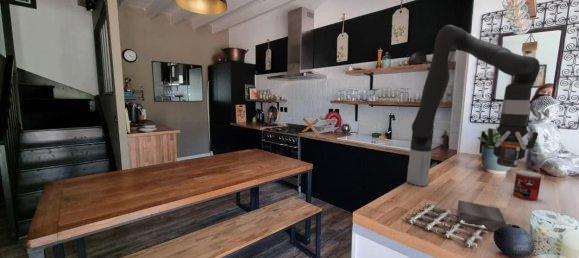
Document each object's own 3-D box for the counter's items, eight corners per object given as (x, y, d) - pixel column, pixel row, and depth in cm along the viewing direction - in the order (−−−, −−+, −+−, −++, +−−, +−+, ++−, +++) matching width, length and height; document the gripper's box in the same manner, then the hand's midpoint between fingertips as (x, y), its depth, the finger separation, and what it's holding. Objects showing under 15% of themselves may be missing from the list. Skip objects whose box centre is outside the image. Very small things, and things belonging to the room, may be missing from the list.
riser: (458, 223, 85) (460, 212, 84) (457, 210, 95) (458, 200, 94) (504, 234, 78) (505, 222, 78) (497, 218, 88) (499, 208, 88)
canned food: (508, 193, 112) (511, 170, 111) (524, 193, 113) (527, 170, 111) (525, 201, 105) (529, 176, 103) (542, 200, 105) (546, 176, 104)
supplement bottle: (521, 168, 88) (526, 137, 87) (502, 167, 89) (507, 136, 88) (510, 164, 94) (514, 135, 92) (492, 162, 95) (496, 134, 94)
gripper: (538, 113, 88) (531, 158, 91) (487, 111, 96) (482, 153, 98) (545, 114, 82) (537, 163, 84) (490, 112, 90) (484, 156, 92)
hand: (507, 157), depth 91 cm, fingers closed on supplement bottle, 6 cm apart
